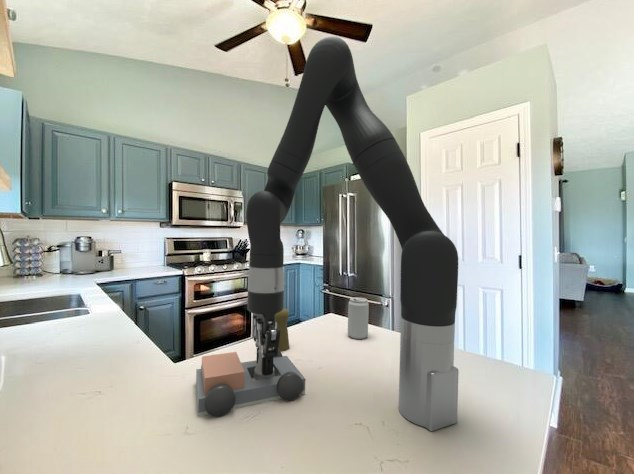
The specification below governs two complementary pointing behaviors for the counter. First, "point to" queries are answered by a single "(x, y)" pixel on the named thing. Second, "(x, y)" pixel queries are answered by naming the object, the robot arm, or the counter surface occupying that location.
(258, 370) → the rook chess piece
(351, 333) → the beverage can
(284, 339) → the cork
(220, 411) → the toy truck
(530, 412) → the counter surface
